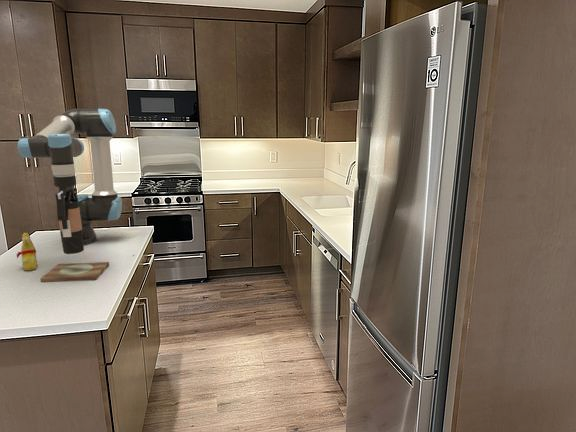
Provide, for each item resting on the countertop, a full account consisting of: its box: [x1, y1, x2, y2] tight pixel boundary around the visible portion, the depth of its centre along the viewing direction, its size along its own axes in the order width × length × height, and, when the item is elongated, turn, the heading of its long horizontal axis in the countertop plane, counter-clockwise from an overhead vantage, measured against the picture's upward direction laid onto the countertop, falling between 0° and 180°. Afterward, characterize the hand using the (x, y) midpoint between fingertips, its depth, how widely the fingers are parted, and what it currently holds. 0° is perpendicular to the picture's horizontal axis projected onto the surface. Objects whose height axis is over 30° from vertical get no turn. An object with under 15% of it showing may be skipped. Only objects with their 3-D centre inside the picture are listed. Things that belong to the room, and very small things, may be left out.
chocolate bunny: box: [16, 232, 38, 272], centre depth 168 cm, size 7×11×15 cm, turn 29°
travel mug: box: [58, 200, 85, 255], centre depth 158 cm, size 8×8×20 cm
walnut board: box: [40, 261, 110, 283], centre depth 163 cm, size 16×20×2 cm
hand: (71, 233), depth 159 cm, fingers closed on travel mug, 8 cm apart
